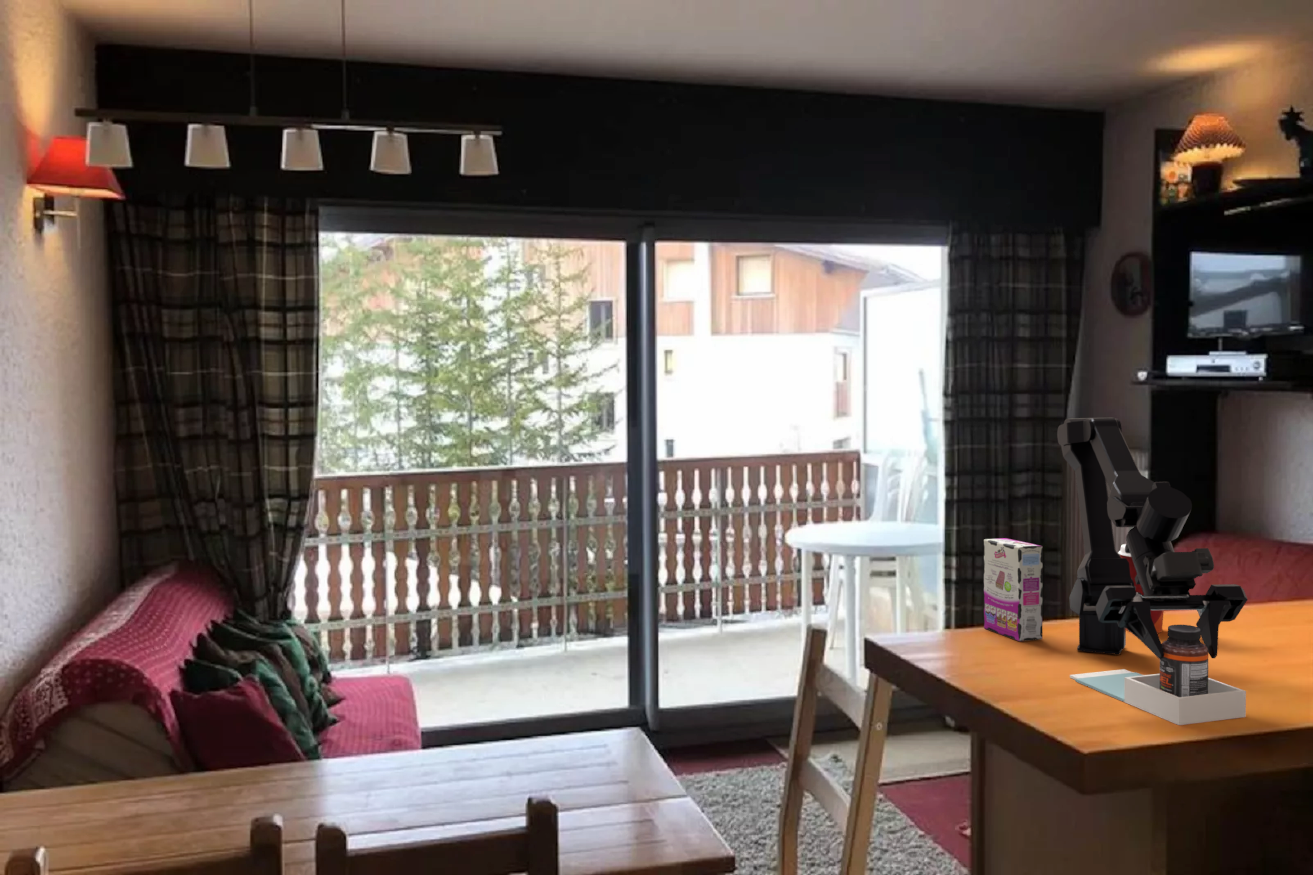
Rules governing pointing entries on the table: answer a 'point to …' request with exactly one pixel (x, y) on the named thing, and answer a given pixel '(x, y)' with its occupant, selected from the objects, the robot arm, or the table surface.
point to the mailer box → (1168, 697)
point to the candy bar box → (1013, 588)
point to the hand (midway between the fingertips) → (1188, 657)
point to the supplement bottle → (1184, 662)
